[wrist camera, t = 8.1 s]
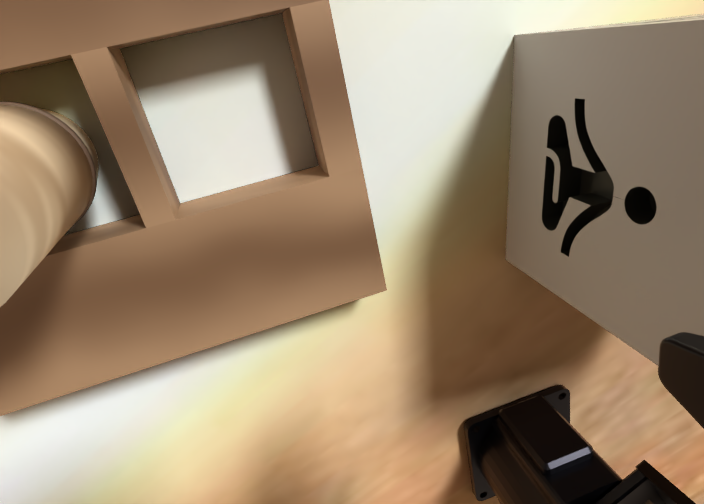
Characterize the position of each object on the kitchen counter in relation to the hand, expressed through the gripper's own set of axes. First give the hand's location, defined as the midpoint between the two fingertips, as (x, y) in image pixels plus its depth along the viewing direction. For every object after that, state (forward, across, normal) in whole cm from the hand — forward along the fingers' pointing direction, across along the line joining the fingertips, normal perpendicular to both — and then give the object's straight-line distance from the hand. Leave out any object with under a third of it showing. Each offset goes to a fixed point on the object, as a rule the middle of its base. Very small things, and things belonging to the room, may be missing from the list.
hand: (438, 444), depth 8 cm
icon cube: (+13, -14, 0) cm, 19 cm away
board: (+12, +5, -4) cm, 14 cm away
